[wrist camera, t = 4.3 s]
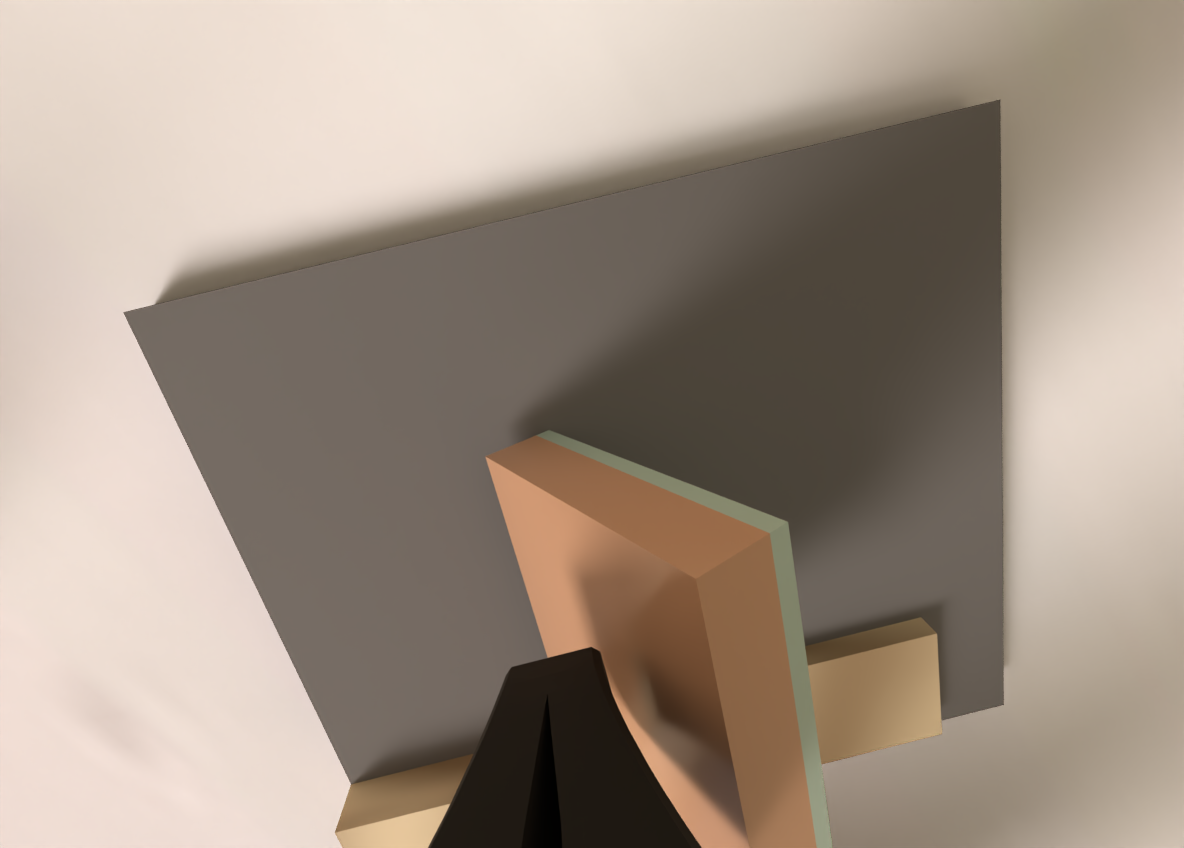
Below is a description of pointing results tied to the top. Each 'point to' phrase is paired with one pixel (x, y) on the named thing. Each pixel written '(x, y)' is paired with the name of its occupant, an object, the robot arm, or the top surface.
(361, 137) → the top surface
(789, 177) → the mat
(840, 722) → the light wooden plank
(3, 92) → the top surface
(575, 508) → the tile
